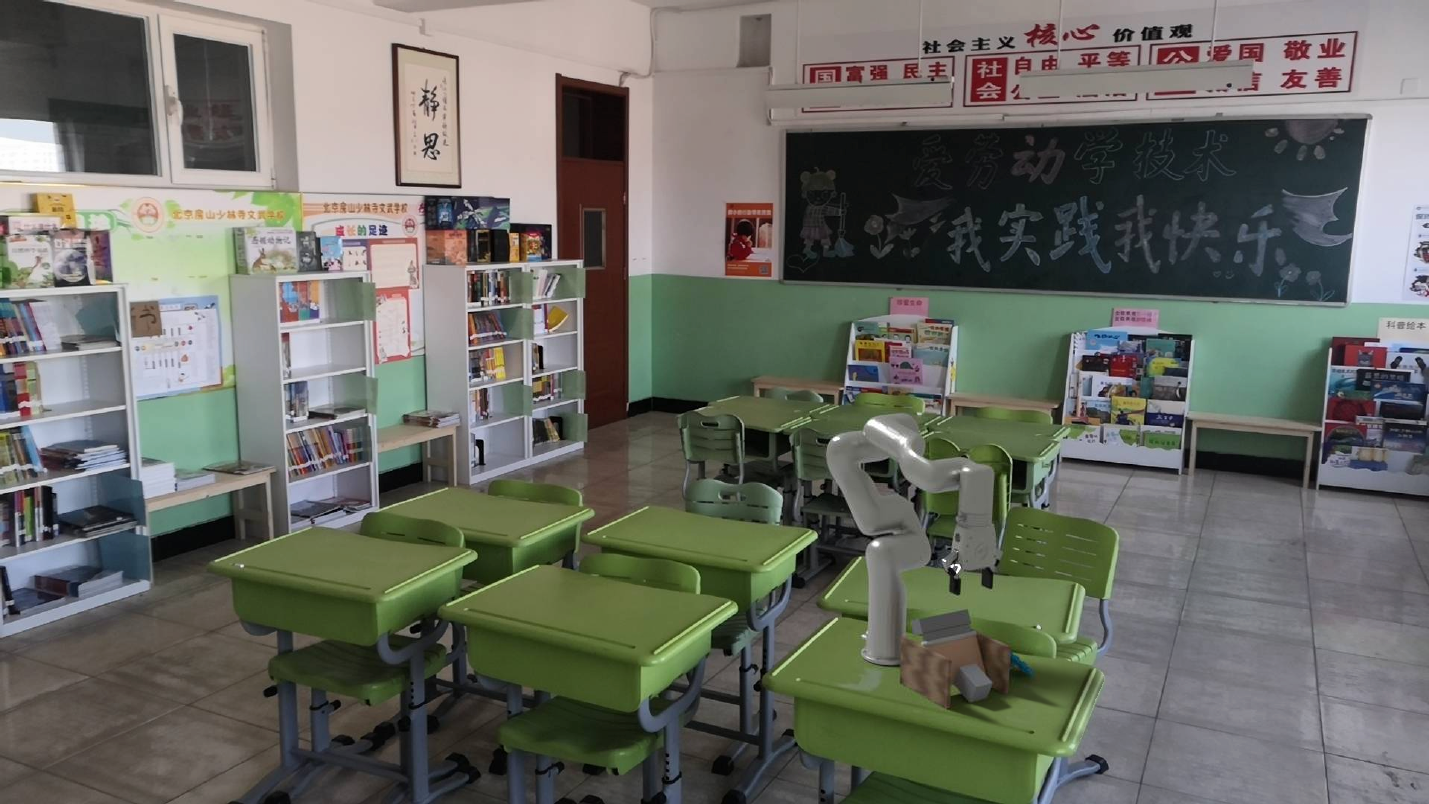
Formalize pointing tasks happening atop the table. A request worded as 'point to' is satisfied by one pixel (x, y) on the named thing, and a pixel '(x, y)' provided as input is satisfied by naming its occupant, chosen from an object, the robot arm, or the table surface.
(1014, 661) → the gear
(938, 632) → the trapdoor
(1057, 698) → the table surface
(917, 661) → the frame
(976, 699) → the grey short rectangular block
